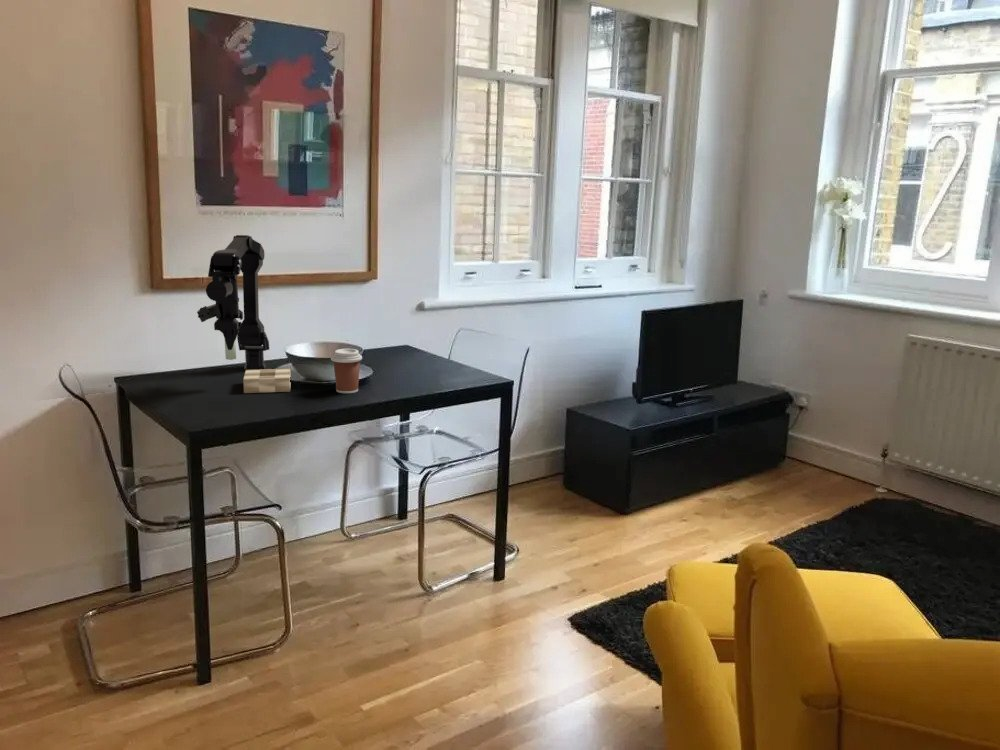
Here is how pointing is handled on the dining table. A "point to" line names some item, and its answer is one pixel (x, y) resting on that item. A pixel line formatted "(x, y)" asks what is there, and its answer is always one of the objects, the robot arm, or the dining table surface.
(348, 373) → the coffee cup
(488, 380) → the dining table surface
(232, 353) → the peg
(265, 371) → the hole board
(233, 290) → the robot arm
